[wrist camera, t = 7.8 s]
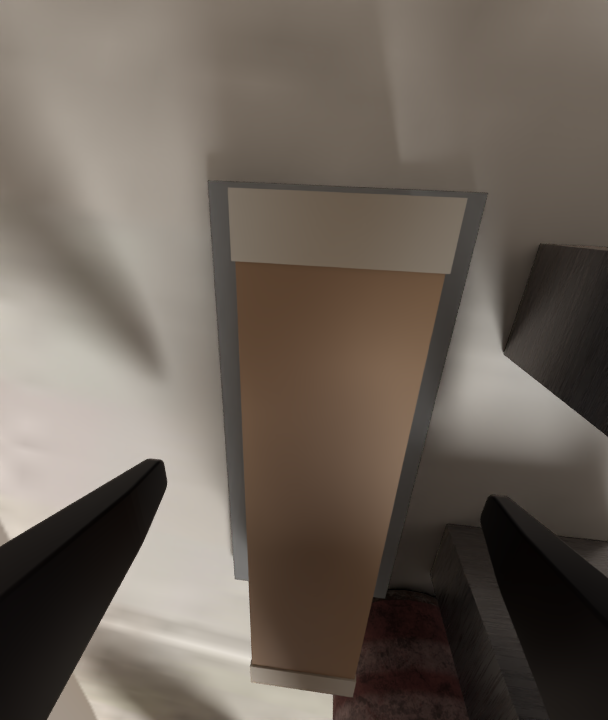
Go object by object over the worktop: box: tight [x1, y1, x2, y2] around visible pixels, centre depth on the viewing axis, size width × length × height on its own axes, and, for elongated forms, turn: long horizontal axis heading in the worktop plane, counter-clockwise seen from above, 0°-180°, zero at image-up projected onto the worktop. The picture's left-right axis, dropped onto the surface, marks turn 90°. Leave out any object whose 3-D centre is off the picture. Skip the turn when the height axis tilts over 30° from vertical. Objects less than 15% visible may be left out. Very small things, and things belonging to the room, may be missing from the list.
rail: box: [228, 187, 468, 697], centre depth 9 cm, size 3×14×3 cm, turn 178°
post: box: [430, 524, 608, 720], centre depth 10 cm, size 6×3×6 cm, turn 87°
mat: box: [208, 180, 488, 598], centre depth 10 cm, size 6×15×1 cm, turn 177°
